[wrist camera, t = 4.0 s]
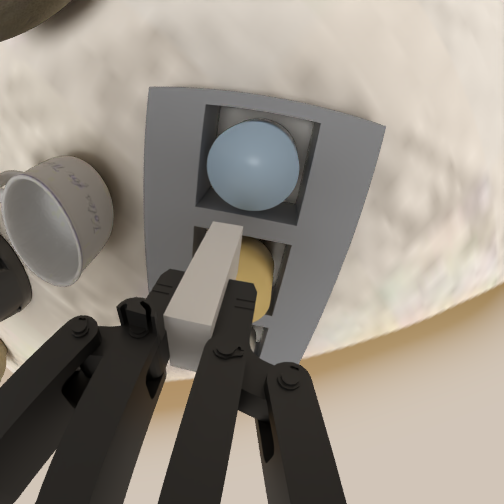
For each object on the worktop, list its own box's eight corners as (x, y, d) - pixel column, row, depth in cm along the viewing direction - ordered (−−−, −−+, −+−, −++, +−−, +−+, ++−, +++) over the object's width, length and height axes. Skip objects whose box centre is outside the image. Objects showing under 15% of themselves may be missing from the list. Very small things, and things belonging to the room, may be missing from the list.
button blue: (217, 184, 21) (203, 202, 18) (226, 113, 18) (212, 116, 15) (288, 197, 21) (288, 218, 18) (304, 126, 18) (308, 132, 15)
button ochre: (203, 284, 24) (190, 316, 21) (207, 227, 21) (191, 255, 18) (266, 297, 24) (262, 331, 20) (280, 241, 21) (278, 273, 17)
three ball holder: (168, 327, 32) (156, 352, 28) (172, 87, 18) (149, 86, 15) (291, 353, 31) (289, 381, 28) (368, 120, 18) (386, 126, 14)
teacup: (147, 199, 23) (98, 244, 17) (100, 262, 28) (60, 308, 21) (58, 108, 19) (-3, 125, 12) (27, 183, 24) (-21, 213, 17)
